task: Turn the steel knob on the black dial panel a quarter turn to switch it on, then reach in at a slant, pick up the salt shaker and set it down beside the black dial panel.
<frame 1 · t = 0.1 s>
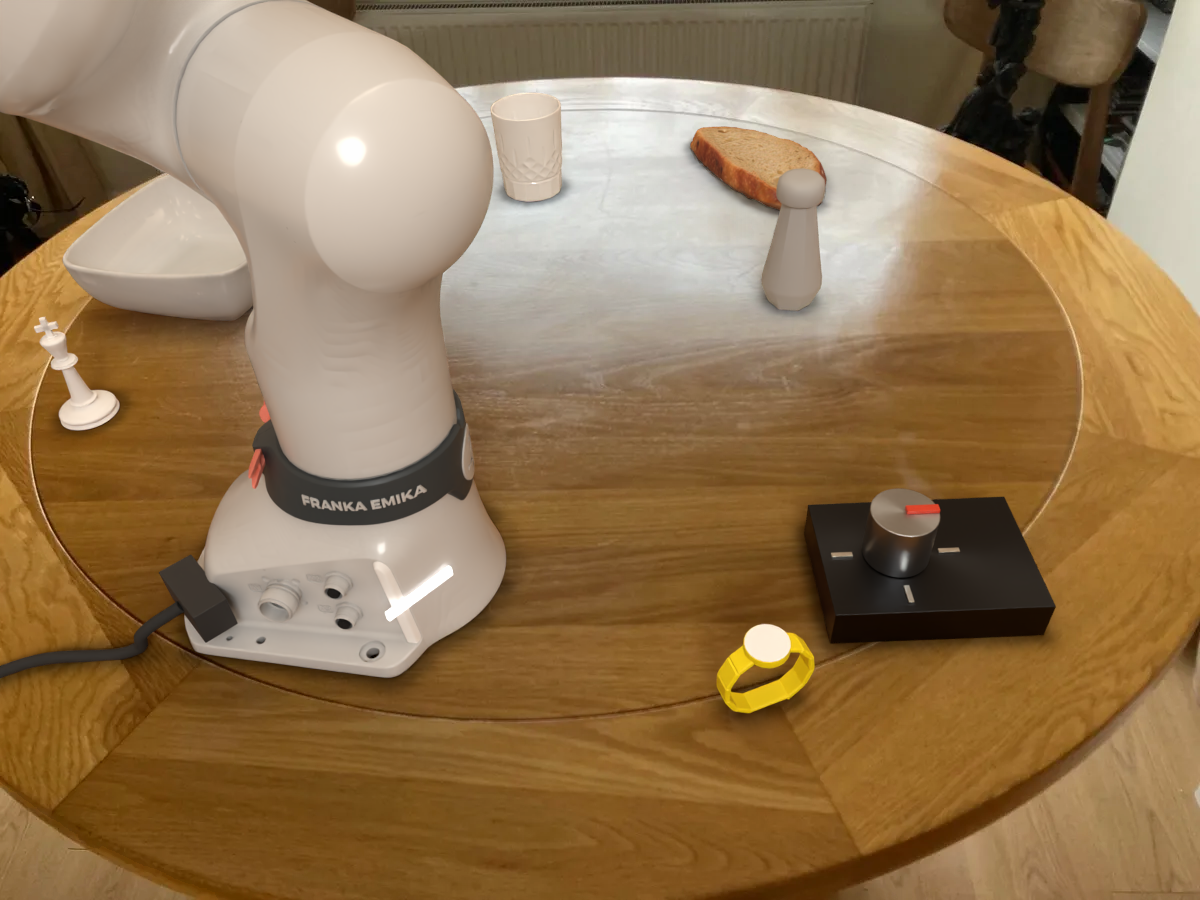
salt shaker: (789, 301, 94), on the table
hob knob: (900, 531, 63), point 5 cm above the table, hinge at 0.0°
bowl: (214, 284, 101), on the table
chess piece: (91, 414, 85), on the table
black dial panel: (916, 581, 67), on the table
white cup: (533, 190, 114), on the table
watch: (762, 700, 60), on the table
bread slice: (752, 176, 114), on the table
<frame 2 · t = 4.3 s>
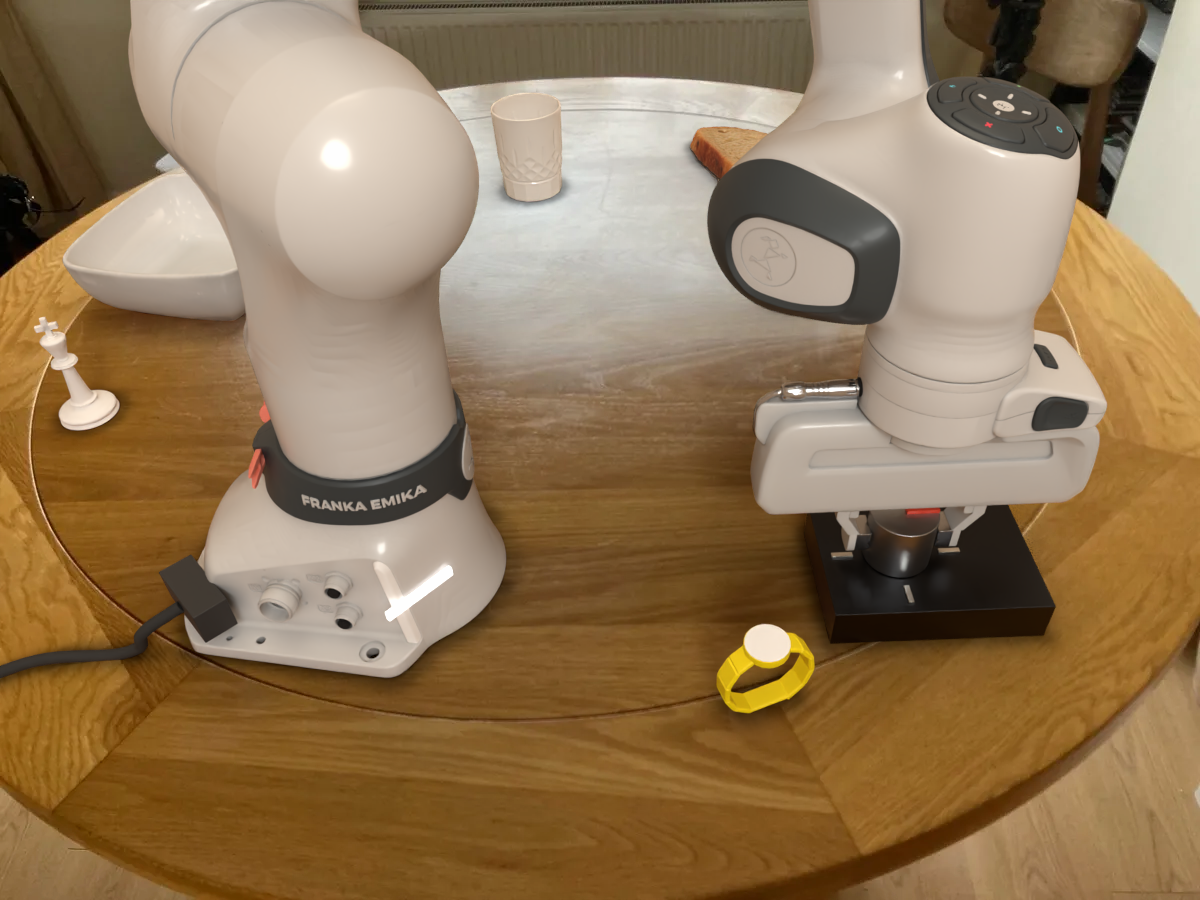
hand: (898, 541, 64), 4 cm above the table, tool pointing down, fingers closed on hob knob, 4 cm apart
hob knob: (900, 531, 63), point 5 cm above the table, hinge at 0.0°, touching gripper
everything else where it was.
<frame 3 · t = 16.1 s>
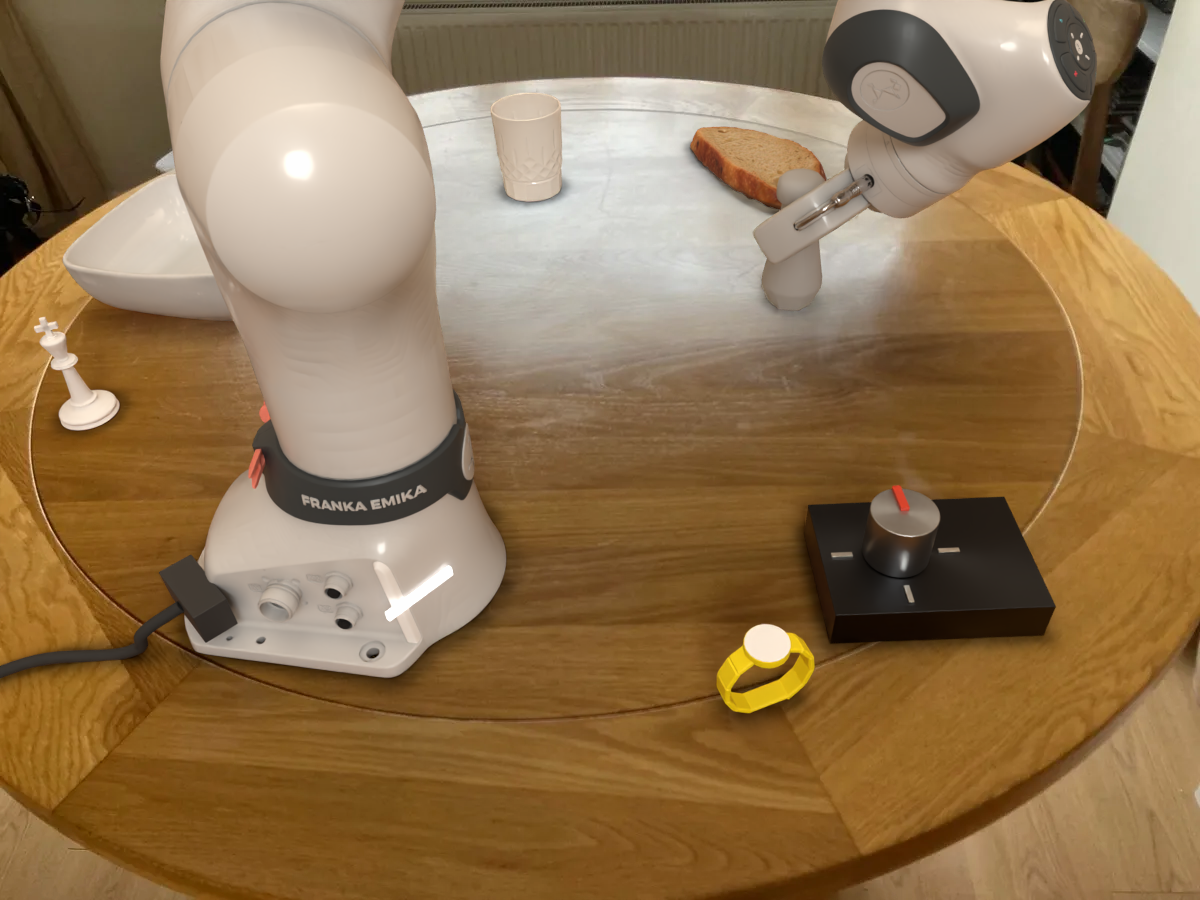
hand: (791, 229, 89), 7 cm above the table, tool tilted 45°, fingers closed on salt shaker, 3 cm apart
salt shaker: (789, 301, 94), on the table, touching gripper
hob knob: (900, 531, 63), point 5 cm above the table, hinge at 92.6°
everything else where it was.
when the fingers open (7 cm above the table, at t = 25.0 s): salt shaker stays where it is, on the table.
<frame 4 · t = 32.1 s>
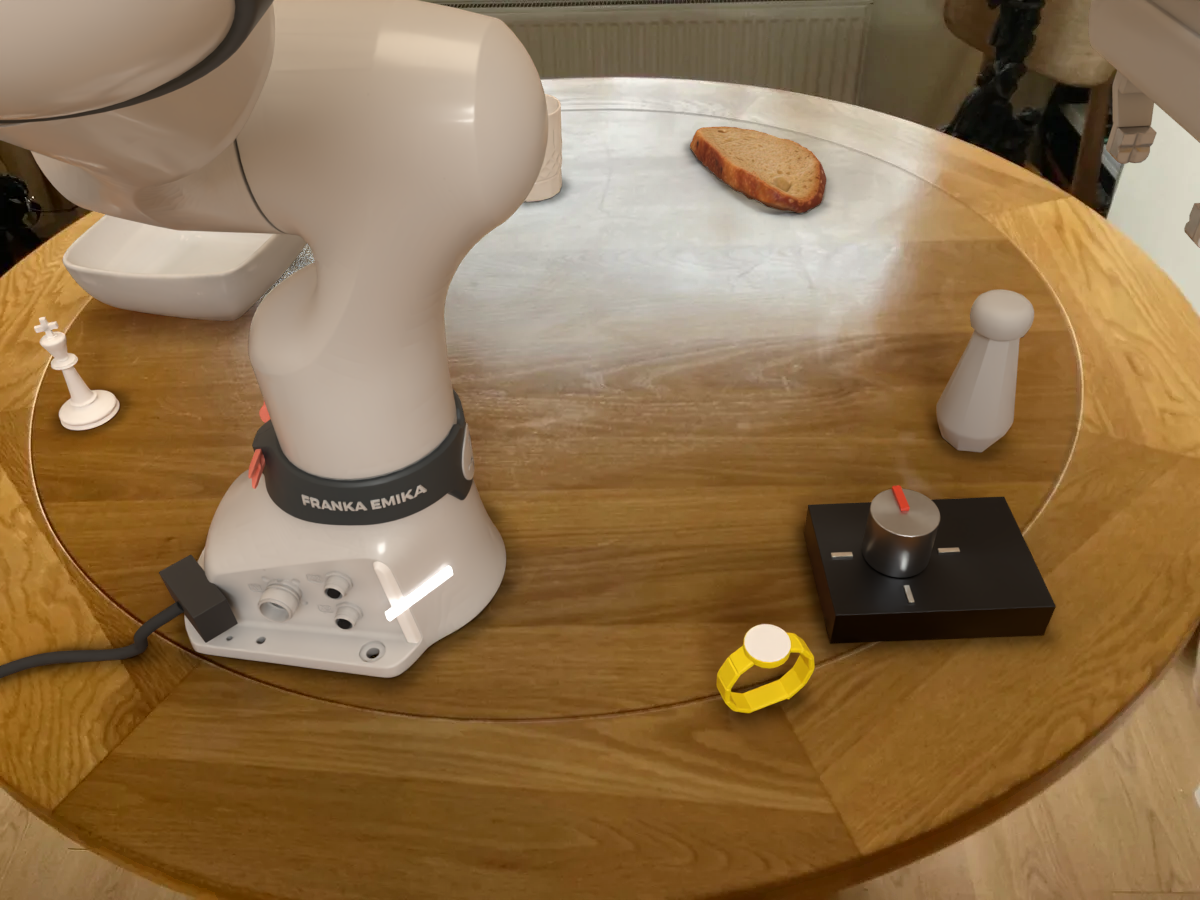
hand: (1162, 197, 51), 27 cm above the table, tool pointing down, fingers open, 8 cm apart
salt shaker: (967, 438, 78), on the table
everything else where it was.
at the end: hob knob at +93° (first picture: +0°); salt shaker inside the target area on the table beside the black dial panel (0.1 cm from its centre), on the table; salt shaker tilted 0° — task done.
